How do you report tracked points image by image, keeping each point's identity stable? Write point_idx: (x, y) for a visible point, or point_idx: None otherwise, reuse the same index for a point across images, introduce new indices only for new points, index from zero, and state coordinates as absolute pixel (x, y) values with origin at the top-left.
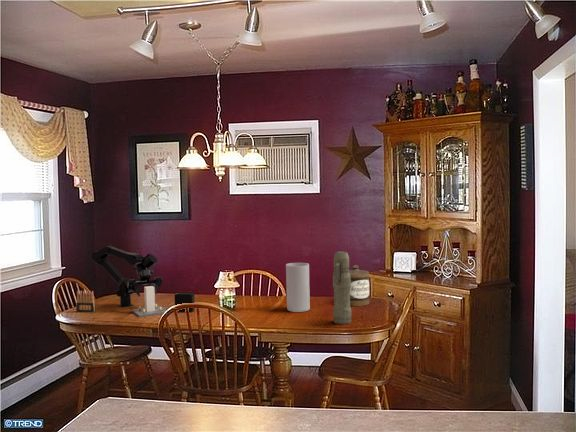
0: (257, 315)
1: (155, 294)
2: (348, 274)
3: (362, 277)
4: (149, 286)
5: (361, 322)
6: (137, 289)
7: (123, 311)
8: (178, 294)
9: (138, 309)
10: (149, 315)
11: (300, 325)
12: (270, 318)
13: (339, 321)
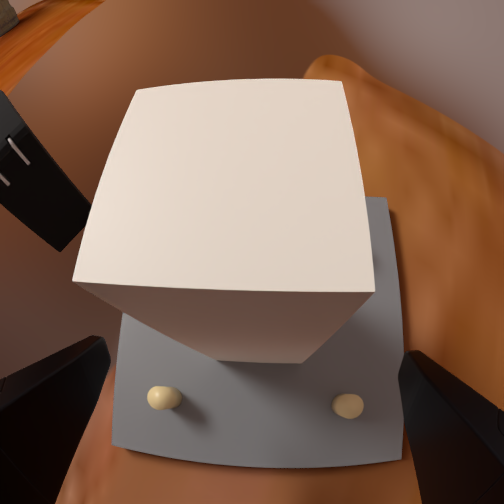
0: (7, 71)
1: (108, 367)
2: None
3: None
4: (172, 247)
5: None
6: (491, 424)
7: None
8: (19, 115)
9: (349, 432)
10: None
11: (47, 13)
12: (22, 47)
13: (17, 18)
